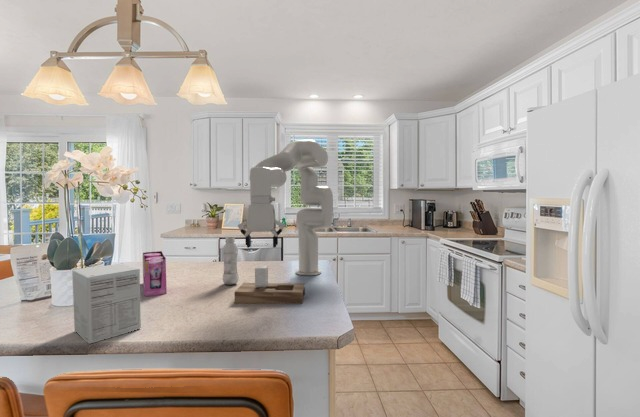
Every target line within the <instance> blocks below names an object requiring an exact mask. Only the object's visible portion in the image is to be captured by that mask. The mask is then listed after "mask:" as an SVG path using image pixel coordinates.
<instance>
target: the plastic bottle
mask: <svg viewBox="0 0 640 417" xmlns="http://www.w3.org/2000/svg"><path fill="white" fill-rule="evenodd" d="M224 241H225V244H224V246H222V250H221V252H222V259H223V273H222V283H223V284H224V285H231V286H232V285H235V284H238V283H239V280H240V279H239V272H238V252H239V249H238V247H237V246H236V244H235V237H232V236H230V237H225V240H224Z"/></svg>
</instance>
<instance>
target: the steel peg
mask: <svg viewBox="0 0 640 417" xmlns="http://www.w3.org/2000/svg"><path fill="white" fill-rule="evenodd" d="M254 283H255V287H259V289H265V287H267V285H268V283H269V266H268V265H257V266H255V268H254Z"/></svg>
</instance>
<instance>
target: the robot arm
mask: <svg viewBox="0 0 640 417" xmlns="http://www.w3.org/2000/svg"><path fill="white" fill-rule="evenodd" d="M327 152H328V151H327V150H326V148H324V147H323V146H322V145H321V144H320V143H318V142H317V141H315V140H313V139H300V140H293V141H290V142H289V143H288V144H287V145H286V146H285V147H284V148H283V149H282V150H280V152H279V153H277V154H274V155H272V156H270V157H268V158H266V159H263V160H261V161H260V162H258V163H257V164H256V165H255V166H254V167H251V168H250V170H249V187H250V188H249V191H250V193H249V195H250V196H249V197H250V199H249V200H250V204H249V205H248V207H247V216H246V218H247V219H246V220H244V221H242V222H241V223H239V224H238V225H237V228H238V229H239V231H240V232H241V234H242V235H243V236H244V237H245V238H244V239H245V246H246V248H251V247H252V242H251V241H252V237H251V233H255V232H259V233H261V232H264V233H268V232H271V234H272V235H273V237H272V248H276V247H277V245H279V242H278V241H279V240H278V238H279V235H280V234H281V233H282V232H283V230H284V228H285V226H286V224H285V223H283V222H281V221H279V220H277V219H276V211H275V205H274V204H272V203H273V202H276V197H274V196H272V188H278V187H279V188H280V187H282V186H283V185H284V184H285V183H286V182H287V174H286V173H287V172H289V171H291V170H293V169H294V168H295V167H296V169H297V170H298V172H299V175H300V203H301V204H302V205H303V206H308V208H307V207H306V208H301V209H299V210H298V212H296V213H297V214H296V223H297V224H296V225H297V230H298V268H297V269H295V274H297V275H299V276H317V275H320V274H321V273H322V269H320V268H319V237H318V233H317V232H316V231H315V229H321V230H323V229H329V228H330V227H331V226H332V224H333V210H334V209H333V207H334V206H333V205H334V203H333V202H334V195H333V191H332V189H331V187H329V186H326V185H325V186H324V185H321V186H320V185H319V176H318V175H319V174H318V173H317V171H316V170H315V169H314V168H321V167H322V168H323V167H325V166H326V165H327V163H328V162H329V156H328V153H327ZM309 206H311V208H309ZM312 206H314V207H319V206H320V208H312ZM244 226H246V229H247V230H245V228H244ZM277 226H279V229H278V230H276V228H277Z"/></svg>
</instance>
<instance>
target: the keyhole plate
mask: <svg viewBox="0 0 640 417" xmlns="http://www.w3.org/2000/svg"><path fill="white" fill-rule="evenodd" d="M305 285H306V283H304V282H303V283H298V282H297V283H295V282H293V283H292V282H290V283H285V282H281V283H280V282H279V283H277V282H276V283H274V282H268V285H267V287H265V289H259V287H255V282H243V283H242V284H241V285H239V287H238V288H237V289H236V290H235V291H234V304H289V305H290V304H292V305H293V304H294V305H295V304H297V305H298V304H299V305H300V304H303V300H304V297H303V296H305V294H306V292H305V290H306V286H305Z"/></svg>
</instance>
